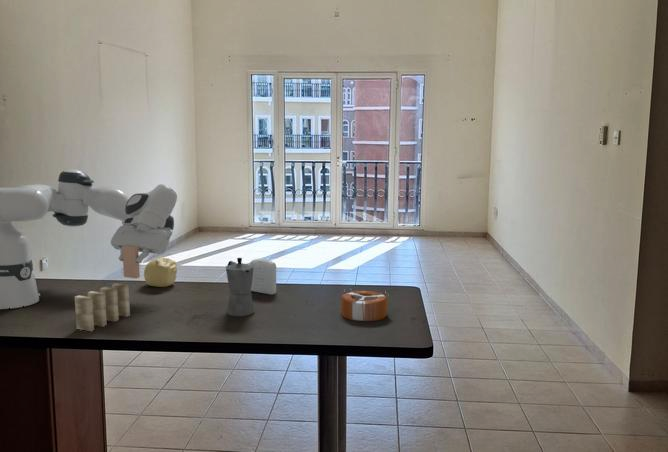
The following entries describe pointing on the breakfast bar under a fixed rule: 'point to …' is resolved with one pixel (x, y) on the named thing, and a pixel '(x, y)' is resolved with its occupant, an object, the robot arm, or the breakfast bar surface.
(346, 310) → the coil
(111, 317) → the domino
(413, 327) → the breakfast bar surface
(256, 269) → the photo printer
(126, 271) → the domino
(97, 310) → the domino
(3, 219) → the robot arm
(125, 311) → the domino
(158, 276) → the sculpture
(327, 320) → the breakfast bar surface
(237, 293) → the coffeepot
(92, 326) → the domino
